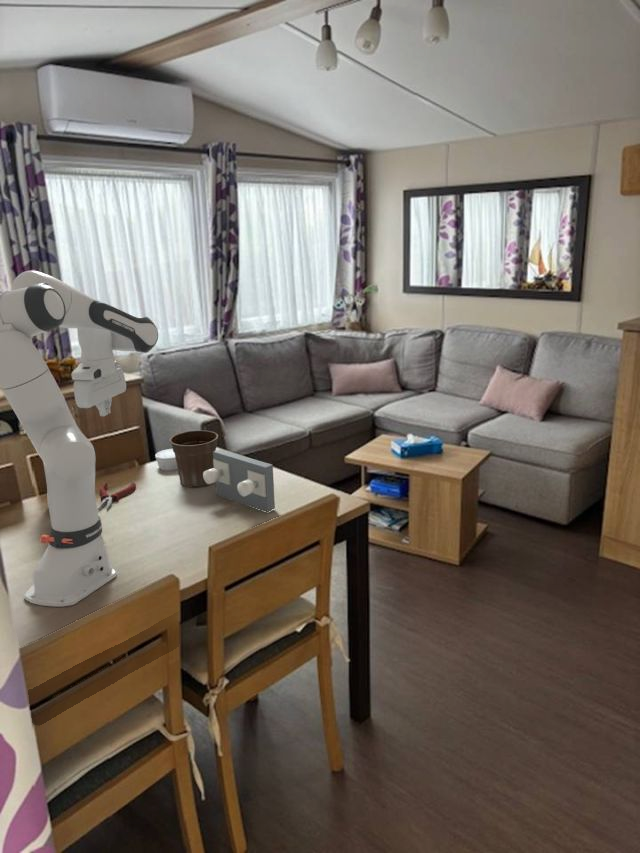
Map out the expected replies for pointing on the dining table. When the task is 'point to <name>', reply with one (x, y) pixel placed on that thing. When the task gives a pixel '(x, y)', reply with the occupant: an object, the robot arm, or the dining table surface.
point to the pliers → (113, 495)
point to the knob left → (212, 475)
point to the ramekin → (166, 460)
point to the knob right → (246, 487)
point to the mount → (241, 470)
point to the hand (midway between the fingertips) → (105, 414)
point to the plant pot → (194, 455)
